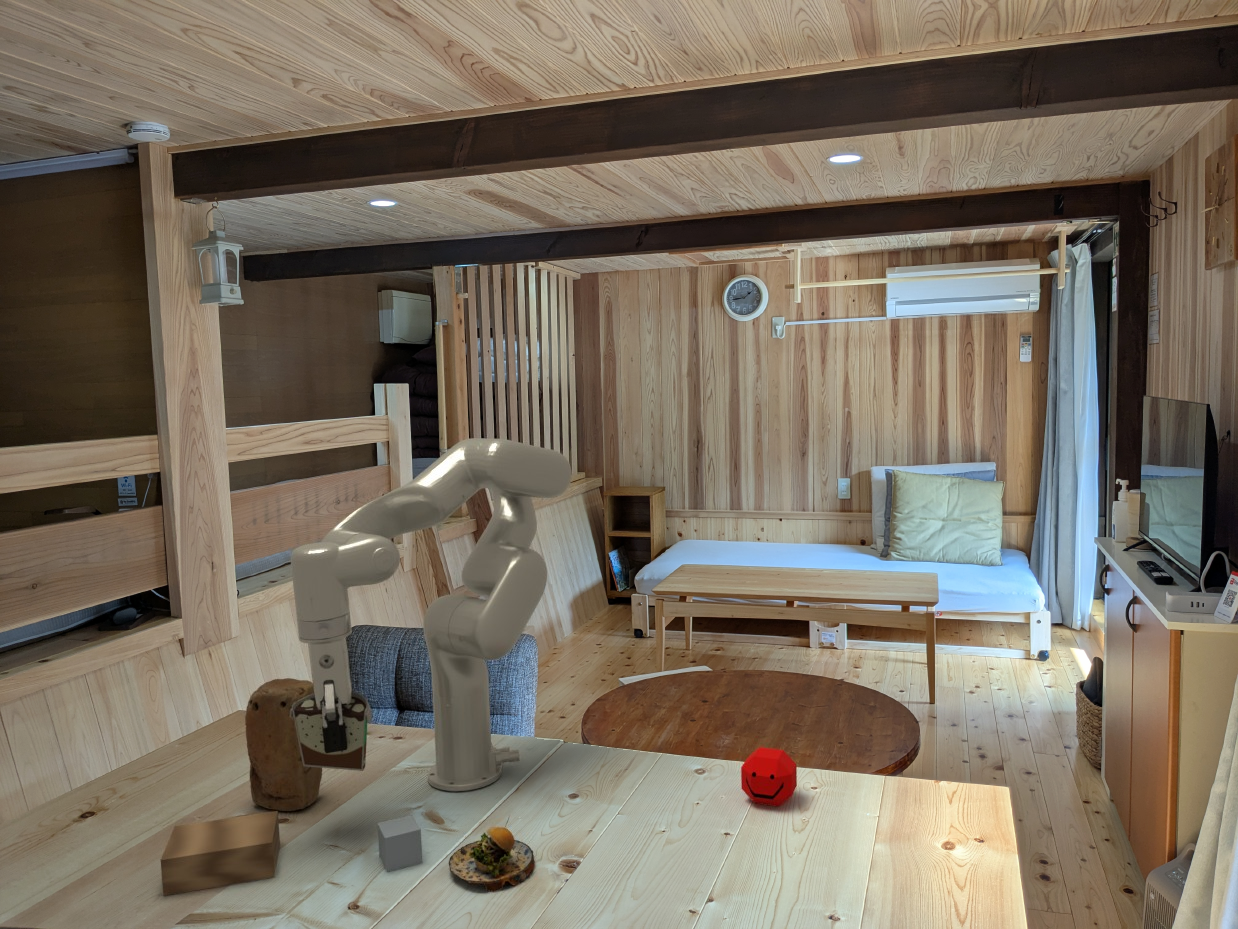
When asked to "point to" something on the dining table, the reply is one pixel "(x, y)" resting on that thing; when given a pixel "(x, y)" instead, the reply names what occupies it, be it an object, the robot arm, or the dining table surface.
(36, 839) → the dining table surface
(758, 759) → the ball
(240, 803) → the dining table surface
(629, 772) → the dining table surface
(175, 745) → the dining table surface
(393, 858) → the slate cube
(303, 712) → the food container
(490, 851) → the burger
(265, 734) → the brown lumpy post
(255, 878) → the plinth
